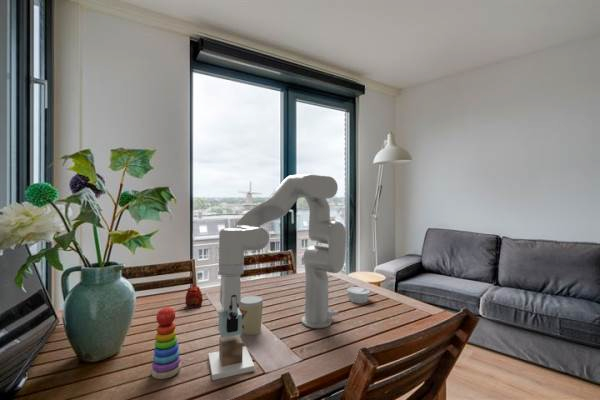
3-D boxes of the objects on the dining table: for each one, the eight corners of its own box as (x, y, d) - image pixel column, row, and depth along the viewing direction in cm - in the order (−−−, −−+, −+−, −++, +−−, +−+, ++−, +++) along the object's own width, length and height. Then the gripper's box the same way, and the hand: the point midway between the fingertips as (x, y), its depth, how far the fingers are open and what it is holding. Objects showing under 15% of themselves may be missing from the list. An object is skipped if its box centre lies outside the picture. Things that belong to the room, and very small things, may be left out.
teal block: (218, 328, 89) (219, 309, 89) (237, 325, 92) (238, 307, 92) (221, 337, 84) (221, 317, 84) (241, 334, 86) (242, 314, 86)
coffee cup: (236, 326, 114) (236, 296, 113) (259, 323, 117) (260, 294, 117) (240, 337, 105) (240, 305, 105) (265, 333, 108) (265, 301, 108)
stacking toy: (185, 363, 88) (185, 303, 88) (174, 380, 80) (175, 313, 80) (159, 364, 88) (159, 303, 87) (146, 380, 80) (146, 314, 80)
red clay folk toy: (184, 309, 130) (185, 276, 130) (185, 304, 137) (186, 272, 137) (202, 307, 132) (202, 275, 132) (202, 302, 139) (203, 271, 139)
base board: (245, 350, 96) (245, 346, 96) (254, 370, 85) (254, 365, 85) (208, 357, 91) (208, 353, 91) (212, 380, 80) (212, 374, 80)
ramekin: (371, 304, 139) (372, 294, 139) (348, 304, 139) (349, 293, 139) (366, 296, 150) (367, 286, 150) (345, 296, 150) (345, 286, 150)
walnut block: (238, 352, 92) (238, 333, 92) (242, 362, 87) (242, 342, 86) (219, 356, 90) (219, 337, 90) (222, 366, 84) (222, 346, 84)
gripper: (215, 263, 94) (214, 317, 94) (222, 276, 78) (221, 342, 78) (238, 261, 97) (237, 314, 97) (249, 274, 81) (248, 337, 81)
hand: (230, 326), depth 88 cm, fingers closed on teal block, 6 cm apart
